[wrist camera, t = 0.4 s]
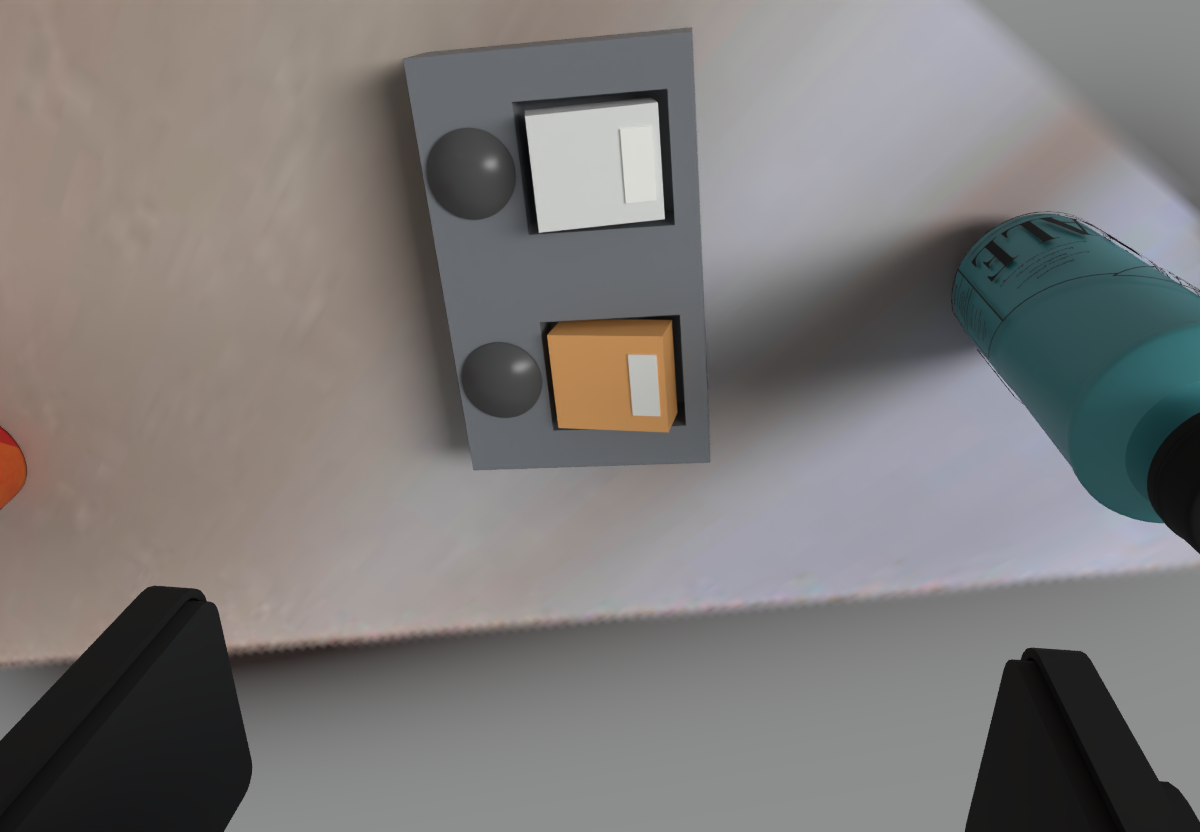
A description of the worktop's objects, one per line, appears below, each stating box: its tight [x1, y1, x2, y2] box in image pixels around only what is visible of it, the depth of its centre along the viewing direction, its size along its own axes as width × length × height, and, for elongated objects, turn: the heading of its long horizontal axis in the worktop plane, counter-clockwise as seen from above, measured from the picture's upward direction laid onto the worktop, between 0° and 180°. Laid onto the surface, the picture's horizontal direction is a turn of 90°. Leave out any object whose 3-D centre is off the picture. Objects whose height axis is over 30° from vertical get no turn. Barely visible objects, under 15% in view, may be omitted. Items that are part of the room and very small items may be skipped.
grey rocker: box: [525, 97, 665, 233], centre depth 35 cm, size 5×4×2 cm
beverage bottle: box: [951, 211, 1200, 554], centre depth 30 cm, size 6×7×20 cm
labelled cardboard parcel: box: [547, 319, 678, 433], centre depth 39 cm, size 5×4×2 cm
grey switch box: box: [403, 28, 710, 470], centre depth 39 cm, size 11×18×4 cm, turn 5°
